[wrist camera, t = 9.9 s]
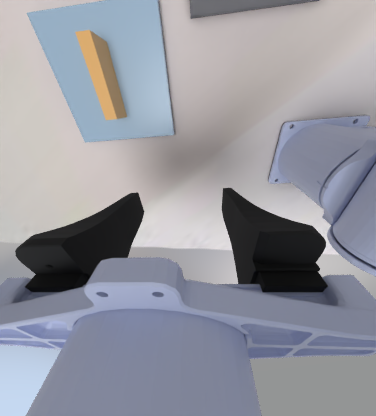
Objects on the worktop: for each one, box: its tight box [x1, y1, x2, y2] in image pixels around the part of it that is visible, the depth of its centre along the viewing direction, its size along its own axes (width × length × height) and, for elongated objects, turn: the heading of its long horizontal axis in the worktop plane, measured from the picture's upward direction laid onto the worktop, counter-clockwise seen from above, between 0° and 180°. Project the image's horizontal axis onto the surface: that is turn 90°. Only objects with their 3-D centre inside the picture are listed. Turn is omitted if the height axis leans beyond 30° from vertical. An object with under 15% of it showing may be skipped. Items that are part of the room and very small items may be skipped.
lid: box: [27, 0, 175, 142], centre depth 15 cm, size 12×11×4 cm
